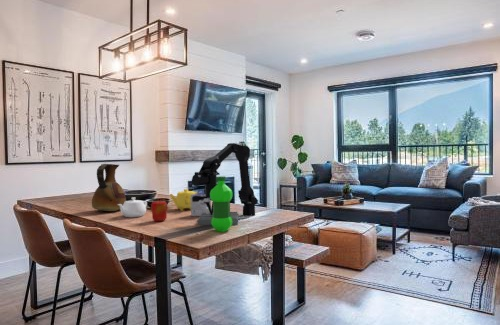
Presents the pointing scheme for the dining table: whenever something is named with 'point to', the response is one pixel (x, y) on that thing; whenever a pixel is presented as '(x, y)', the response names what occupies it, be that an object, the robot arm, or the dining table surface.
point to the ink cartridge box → (198, 205)
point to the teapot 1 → (133, 208)
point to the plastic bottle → (221, 205)
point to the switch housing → (206, 218)
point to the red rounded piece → (159, 210)
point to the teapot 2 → (183, 199)
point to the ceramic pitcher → (108, 190)
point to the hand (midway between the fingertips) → (211, 214)
